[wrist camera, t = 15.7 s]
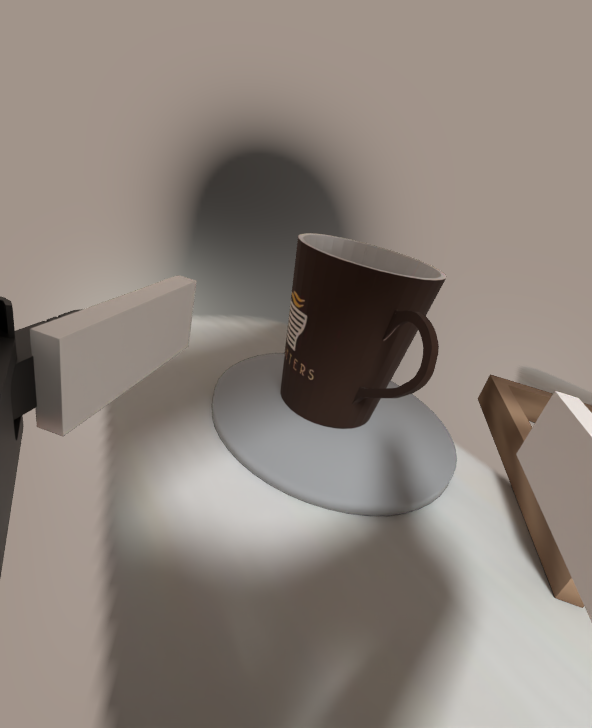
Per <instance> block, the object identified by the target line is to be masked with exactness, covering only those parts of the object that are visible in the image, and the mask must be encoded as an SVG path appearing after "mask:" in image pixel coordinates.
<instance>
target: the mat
mask: <svg viewBox="0 0 592 728" xmlns="http://www.w3.org/2000/svg"><path fill="white" fill-rule="evenodd" d="M284 356H285V353H275V354H265V355H260V356H255V357H252V358H248V359H246V360H243V361H241V362H238V363H237V364H235V365H233V366H232V367H230V368H229V369H228V370H227V371H225V372H224V373H223V375H222V376H221V377H220V378H219V380H218V382H217V384H216V386H215V390H214V396H213V402H212V418H213V421H214V425H215V428H216V430H217V432H218V434H219V437H220V439H221V440H222V441H223V443H224V444H225V446H226V447H227V449H228V450H229V451H230V452H231V453H232V454H233V456H234V457H235V458H236V459H237V460H238V461H239V462H240V463H241V464H242V465H244V466H245V467H246V468H247V469H248V470H249V471H251V472H252V473H253V474H254V475H256V476H257V477H259V478H260V479H262V480H263V481H265V482H266V483H268V484H269V485H271V486H273V487H275V488H276V489H278V490H280V491H282V492H284V493H286V494H288V495H290V496H292V497H295V498H297V499H300V500H302V501H304V502H307V503H309V504H313V505H316V506H319V507H322V508H326V509H329V510H334V511H338V512H343V513H348V514H357V515H366V516H389V515H396V514H403V513H407V512H411V511H414V510H417V509H420V508H422V507H424V506H426V505H428V504H430V503H432V502H433V501H434V500H436V499H437V498H438V497H439V496H440V495H441V494H442V493H443V491H444V490H445V489H446V487H447V486H448V484H449V482H450V480H451V478H452V476H453V474H454V471H455V469H456V462H457V456H456V449H455V446H454V442H453V440H452V438H451V436H450V434H449V432H448V430H447V429H446V427H445V426H444V424H443V423H442V421H441V420H440V419H439V418H438V417H437V416H436V415H435V414H434V412H433V411H432V410H430V409H429V408H428V407H427V406H426V405H425V404H424V403H423V402H422V401H420V400H419V399H418V398H417V397H415V396H414V395H412V394H409V395H406V396H403V397H400V398H381V399H380V401H379V403H378V404H377V406H376V408H375V410H374V412H373V414H372V416H371V417H370V419H369V421H368V422H367V423H366V424H364V425H362V426H360V427H356V428H352V429H337V428H330V427H325V426H322V425H318V424H315V423H313V422H310V421H308V420H306V419H304V418H302V417H301V416H299V415H297V414H296V413H295V412H293V411H292V410H291V409H290V408H289V407H288V406H287V405H286V404H285V403H284V401H283V399H282V397H281V394H280V391H281V382H282V373H283V364H284ZM397 387H400V386H399V385H397V384H396V383H394V382H392V381H390V382H389V384H388V386H387V388H397Z"/></svg>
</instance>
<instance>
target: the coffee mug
mask: <svg viewBox="0 0 592 728" xmlns="http://www.w3.org/2000/svg"><path fill="white" fill-rule="evenodd" d="M445 279H446V275H445V274H444V273H443V272H441V271H440V270H438V269H436V268H435V267H433V266H431V265H429V264H426V263H424V262H422V261H419V260H417V259H414V258H411V257H409V256H406V255H403V254H400V253H397V252H394V251H391V250H388V249H384V248H381V247H377V246H374V245H370V244H367V243H363V242H358V241H354V240H350V239H345V238H340V237H335V236H329V235H321V234H301V235H299V236H298V243H297V252H296V261H295V270H294V278H293V287H292V295H291V304H290V313H289V322H288V330H287V338H286V347H285V356H284V364H283V373H282V382H281V391H280V394H281V397H282V399H283V401H284V403H285V404H286V405H287V406H288V407H289V408H290V409H291V410H292V411H293V412H295V413H296V414H297V415H299V416H301V417H302V418H304V419H306V420H308V421H310V422H313V423H315V424H318V425H322V426H325V427H330V428H337V429H352V428H356V427H360V426H362V425H364V424H366V423H367V422H368V421H369V419H370V417H371V416H372V414H373V412H374V410H375V408H376V406H377V404H378V403H379V401H380V399H381V398H400V397H403V396H406V395H409V394H412V393H414V392H415V391H417V390H419V389H421V388H422V387H423V386H424V385H425V384H426V383H427V382H428V381H429V379H430V378H431V376H432V374H433V372H434V368H435V364H436V360H437V356H438V347H439V346H438V340H437V336H436V332H435V330H434V328H433V326H432V324H431V322H430V321H429V320H428V318H427V317H426V314H427V312H428V310H429V309H430V307H431V305H432V303H433V301H434V299H435V297H436V296H437V294H438V292H439V290H440V288H441V286H442V285H443V283H444V281H445ZM418 330H419V332H420V334H421V337H422V341H423V348H424V349H423V359H422V363H421V367H420V369H419V371H418V372H417V374H416V376H415V377H414V378H413V379H411V380H410V381H409V382H407V383H405V384H403V385H402V386H400V387H397V388H387V386H388V384H389V382H390V380H391V379H392V377H393V375H394V373H395V371H396V369H397V368H398V366H399V364H400V362H401V360H402V358H403V356H404V355H405V353H406V351H407V349H408V347H409V345H410V344H411V342H412V340H413V338H414V336H415V334H416V332H417V331H418Z"/></svg>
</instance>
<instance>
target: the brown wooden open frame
mask: <svg viewBox="0 0 592 728" xmlns="http://www.w3.org/2000/svg"><path fill="white" fill-rule="evenodd" d="M552 395H553V394H552V393H549V392H546V391H542V390H539V389H536V388H533V387H529V386H526V385H523V384H520V383H516V382H513V381H510V380H506V379H503V378H500V377H497V376H493V375H490V376H489V378H488V380H487V382H486V384H485V386H484V388H483V390H482V392H481V394H480V395H479V397H478V401H479V403H480V406H481V408H482V411H483V414H484V416H485V419H486V421H487V424H488V426H489V429H490V431H491V434H492V437H493V439H494V442H495V444H496V447H497V450H498V452H499V455H500V457H501V460H502V462H503V465H504V468H505V470H506V473H507V475H508V478H509V480H510V483H511V486H512V488H513V491H514V493H515V496H516V498H517V501H518V504H519V506H520V509H521V511H522V514H523V517H524V519H525V522H526V524H527V527H528V529H529V532H530V535H531V537H532V540H533V542H534V545H535V547H536V550H537V553H538V555H539V558H540V560H541V563H542V565H543V568H544V571H545V573H546V576H547V578H548V581H549V583H550V586H551V589H552V591H553V594H554V596H555V598H557V599H560V600H562V601H565V602H568V603H571V604H573V605H576V606H579V607H582V608H583V607H584V604H583V602H582V599H581V597H580V595H579V593H578V590H577V588H576V586H575V584H574V582H573V579H572V577H571V575H570V573H569V570H568V568H567V566H566V564H565V562H564V559H563V557H562V555H561V553H560V550H559V548H558V546H557V544H556V542H555V539H554V537H553V535H552V533H551V530H550V528H549V526H548V524H547V522H546V519H545V517H544V515H543V513H542V510H541V508H540V506H539V504H538V502H537V499H536V497H535V495H534V493H533V490H532V488H531V486H530V484H529V482H528V479H527V477H526V475H525V473H524V470H523V468H522V466H521V464H520V462H519V459H518V457H517V455H516V454H517V452H518V450H519V449H520V447H521V446H522V444H523V442H524V441H525V439H526V437H527V436H528V434H529V432H530V431H531V429H532V426H531V424H530V423H529V421H531V422H535V423H536V421H537V419H538V418H539V416H540V414H541V413H542V411H543V410H544V408H545V406H546V405H547V403H548V401H549V400H550V398H551V396H552ZM583 404H584V405H585V406H586V407H587V408H588V409H589V410H590V412H591V413H592V406H591V405H588V404H585V403H583Z"/></svg>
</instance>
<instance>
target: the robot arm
mask: <svg viewBox="0 0 592 728" xmlns="http://www.w3.org/2000/svg"><path fill="white" fill-rule="evenodd" d="M195 288H196V281H195V280H192V279H188V278H185V277H182V276H179V275H177V276H174V277H171V278H169V279H166V280H163V281H160V282H157V283H155V284H152V285H149V286H147V287H144V288H141V289H138V290H135V291H133V292H130V293H127V294H124V295H122V296H119V297H116V298H113V299H111V300H108V301H105V302H102V303H100V304H97V305H94V306H91V307H89V308H86V309H81V310H73V311H70V312H68V313H64V314H62V315H59V316H58V317H53V318H50V319H48V320H47V321H42V322H39V323H36V324H33V325H31V326H28V327H25V328H22V329H19V330H17V331H14V320H13V309H12V303H11V301H9V300H8V299H6V298H3V297H0V577H1V570H2V563H3V557H4V550H5V544H6V537H7V531H8V524H9V518H10V511H11V505H12V498H13V491H14V485H15V478H16V472H17V465H18V459H19V452H20V446H21V439H22V433H23V417H22V415H23V414H25V413H27V412H28V411H30V410H32V409H33V408H35V407H36V421H37V427H39V428H42V429H44V430H47V431H50V432H52V433H55V434H58V435H60V436H65V435H66V434H67V433H69V432H70V431H71V430H73V429H74V428H76V427H77V426H78V425H80V424H81V423H82V422H84V421H85V420H87V419H88V418H90V417H91V416H92V415H94V414H95V413H97V412H98V411H99V410H101V409H102V408H104V407H105V406H106V405H108V404H109V403H110V402H112V401H113V400H115V399H116V398H117V397H119V396H120V395H122V394H123V393H124V392H126V391H127V390H129V389H130V388H131V387H133V386H134V385H136V384H137V383H138V382H140V381H141V380H142V379H144V378H145V377H147V376H148V375H149V374H151V373H152V372H154V371H155V370H156V369H158V368H159V367H161V366H162V365H163V364H165V363H166V362H168V361H169V360H170V359H172V358H173V357H174V356H176V355H177V354H179V353H180V352H181V351H183V350H184V349H186V348H187V347H188V346H189V337H190V329H191V321H192V312H193V305H194V296H195ZM516 455H517V457H518V459H519V462H520V464H521V466H522V468H523V470H524V473H525V475H526V477H527V479H528V482H529V484H530V486H531V488H532V490H533V493H534V495H535V497H536V499H537V502H538V504H539V506H540V508H541V510H542V513H543V515H544V517H545V519H546V522H547V524H548V526H549V528H550V530H551V533H552V535H553V537H554V539H555V542H556V544H557V546H558V548H559V550H560V553H561V555H562V557H563V559H564V562H565V564H566V566H567V568H568V570H569V573H570V575H571V577H572V579H573V582H574V584H575V586H576V588H577V590H578V593H579V595H580V597H581V599H582V602H583V604H584V606H585V608H586V610H587V613H588V615H589V617H590V619H591V621H592V413H591V412H590V410H589V409H588V408H587V407H586V406H585V405H584V404H583V403H582V401H581V400H580V399H579V398H577V397H574V396H570V395H567V394H564V393H561V392H557V391H555V392H554V393H553V395H552V396H551V398H550V400H549V401H548V403H547V405H546V406H545V408H544V410H543V411H542V413H541V414H540V416H539V418H538V419H537V421H536V423H535V424H534V426H533V428H532V429H531V431H530V432H529V434H528V436H527V437H526V439H525V441H524V442H523V444H522V446H521V447H520V449H519V450H518V452H517V454H516Z"/></svg>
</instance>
